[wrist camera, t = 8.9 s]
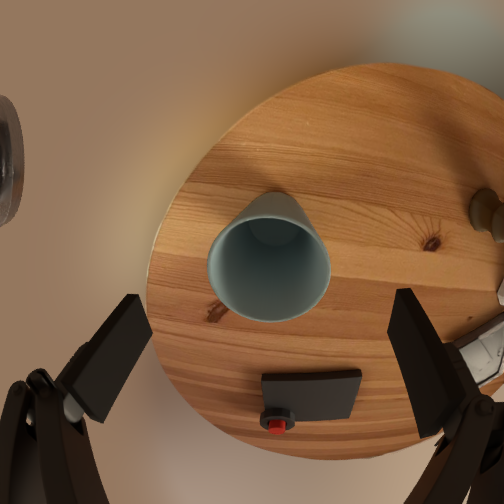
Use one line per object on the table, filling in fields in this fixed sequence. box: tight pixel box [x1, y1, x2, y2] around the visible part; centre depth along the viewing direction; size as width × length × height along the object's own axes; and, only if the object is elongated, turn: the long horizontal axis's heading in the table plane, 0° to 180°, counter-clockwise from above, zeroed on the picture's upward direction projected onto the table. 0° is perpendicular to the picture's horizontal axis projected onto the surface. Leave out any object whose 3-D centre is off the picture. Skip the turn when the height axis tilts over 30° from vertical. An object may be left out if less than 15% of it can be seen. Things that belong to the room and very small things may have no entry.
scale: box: [260, 370, 362, 430], centre depth 36 cm, size 15×13×3 cm
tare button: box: [268, 420, 286, 434], centre depth 36 cm, size 3×3×2 cm
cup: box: [207, 192, 331, 322], centre depth 21 cm, size 8×8×10 cm
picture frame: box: [452, 312, 504, 388], centre depth 30 cm, size 13×2×18 cm
